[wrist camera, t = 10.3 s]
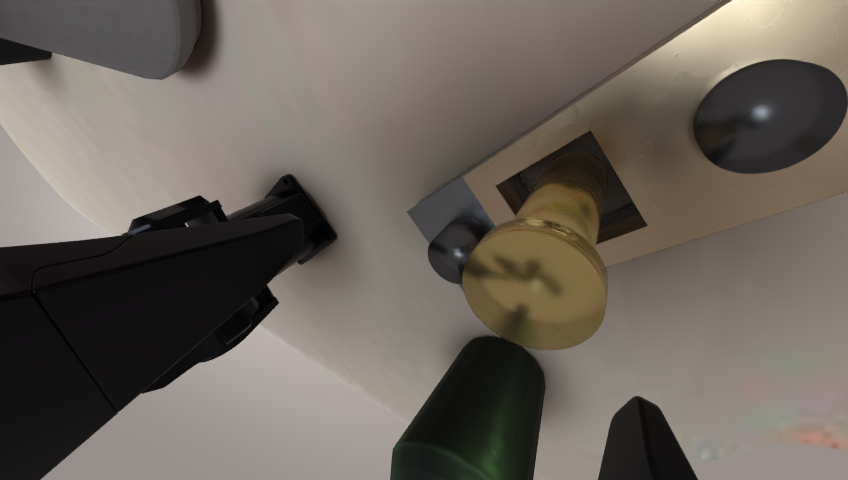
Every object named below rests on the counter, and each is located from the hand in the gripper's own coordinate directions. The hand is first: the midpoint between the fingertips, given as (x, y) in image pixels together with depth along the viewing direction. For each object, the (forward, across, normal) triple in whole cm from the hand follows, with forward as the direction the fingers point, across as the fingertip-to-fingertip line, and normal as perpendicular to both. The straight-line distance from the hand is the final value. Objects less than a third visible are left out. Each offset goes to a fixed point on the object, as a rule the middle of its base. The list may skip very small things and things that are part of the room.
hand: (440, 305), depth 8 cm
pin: (+12, -2, 0) cm, 12 cm away
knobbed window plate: (+12, -2, 0) cm, 12 cm away
